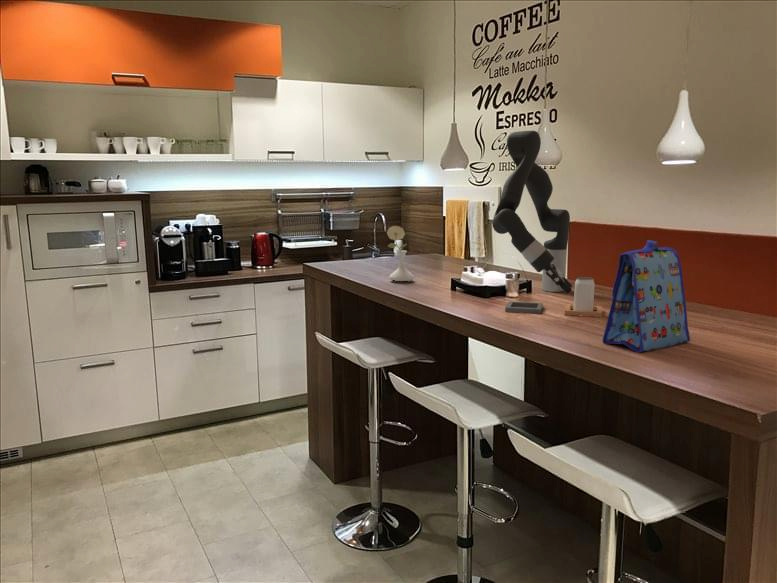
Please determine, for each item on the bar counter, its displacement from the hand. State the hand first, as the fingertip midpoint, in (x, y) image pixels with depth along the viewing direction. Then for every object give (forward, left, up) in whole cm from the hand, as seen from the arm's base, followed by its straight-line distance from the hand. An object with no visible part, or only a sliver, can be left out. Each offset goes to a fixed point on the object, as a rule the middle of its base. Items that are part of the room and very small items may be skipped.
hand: (570, 289), depth 223 cm
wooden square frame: (0, +5, -8) cm, 9 cm away
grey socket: (0, -15, -8) cm, 17 cm away
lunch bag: (+39, +22, -8) cm, 45 cm away
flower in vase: (-47, -74, -8) cm, 88 cm away
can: (0, +5, -8) cm, 9 cm away
